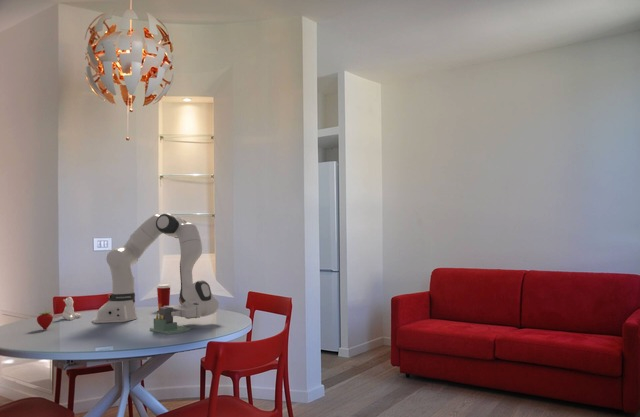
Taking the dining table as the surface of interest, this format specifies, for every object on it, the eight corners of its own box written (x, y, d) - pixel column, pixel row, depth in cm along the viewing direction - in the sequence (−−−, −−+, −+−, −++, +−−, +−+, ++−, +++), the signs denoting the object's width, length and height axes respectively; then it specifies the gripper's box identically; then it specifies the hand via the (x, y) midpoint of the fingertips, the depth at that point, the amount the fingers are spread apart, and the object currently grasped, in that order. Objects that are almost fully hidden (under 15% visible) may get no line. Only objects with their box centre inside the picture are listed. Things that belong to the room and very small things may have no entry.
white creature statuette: (71, 320, 286) (71, 298, 286) (57, 320, 288) (57, 298, 288) (82, 317, 295) (82, 295, 296) (68, 317, 297) (68, 295, 297)
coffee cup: (173, 309, 321) (172, 284, 321) (167, 311, 313) (167, 285, 313) (159, 309, 322) (159, 284, 322) (154, 311, 314) (153, 285, 314)
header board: (171, 326, 265) (171, 310, 265) (190, 330, 254) (190, 313, 254) (149, 330, 255) (149, 313, 256) (168, 334, 245) (168, 316, 245)
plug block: (167, 327, 257) (167, 305, 257) (173, 328, 254) (173, 306, 254) (159, 328, 253) (159, 306, 253) (164, 329, 250) (164, 307, 250)
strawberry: (34, 330, 260) (34, 309, 260) (48, 327, 266) (49, 307, 267) (40, 331, 257) (40, 310, 257) (55, 328, 263) (55, 308, 263)
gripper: (177, 301, 270) (153, 304, 260) (201, 304, 257) (177, 308, 247) (177, 313, 270) (153, 317, 260) (202, 318, 257) (177, 322, 246)
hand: (165, 313), depth 253 cm, fingers open, 8 cm apart
